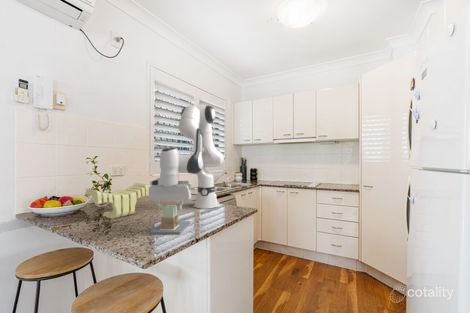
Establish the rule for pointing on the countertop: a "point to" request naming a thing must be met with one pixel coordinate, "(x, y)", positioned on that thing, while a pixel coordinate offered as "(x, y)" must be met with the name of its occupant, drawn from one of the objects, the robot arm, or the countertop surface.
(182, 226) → the slate board
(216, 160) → the robot arm
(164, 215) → the sage block
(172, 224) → the walnut block
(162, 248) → the countertop surface
